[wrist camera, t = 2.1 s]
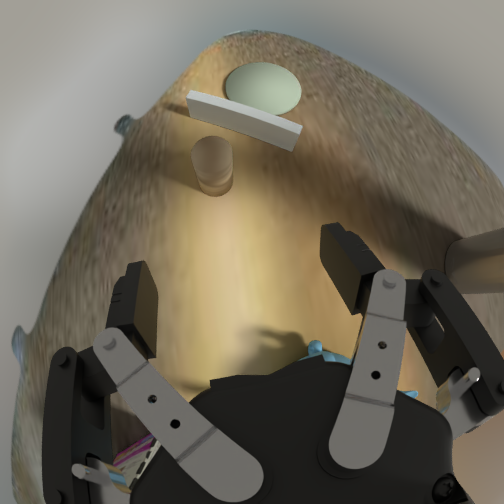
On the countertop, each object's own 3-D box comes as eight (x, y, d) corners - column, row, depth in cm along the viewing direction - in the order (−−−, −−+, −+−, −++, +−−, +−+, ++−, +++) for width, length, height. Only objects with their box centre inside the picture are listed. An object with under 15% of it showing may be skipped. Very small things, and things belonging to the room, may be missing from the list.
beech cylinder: (229, 163, 37) (228, 132, 29) (235, 192, 36) (236, 167, 28) (196, 169, 36) (188, 140, 29) (202, 199, 36) (193, 176, 28)
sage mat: (288, 62, 40) (289, 60, 40) (309, 113, 39) (310, 111, 38) (220, 68, 39) (220, 66, 39) (232, 121, 38) (233, 119, 37)
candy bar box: (140, 474, 30) (106, 538, 14) (116, 453, 30) (72, 512, 14) (187, 446, 31) (165, 522, 15) (162, 423, 32) (124, 492, 15)
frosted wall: (295, 144, 38) (302, 126, 33) (292, 152, 38) (299, 134, 33) (194, 110, 38) (190, 89, 33) (190, 117, 38) (185, 97, 33)
